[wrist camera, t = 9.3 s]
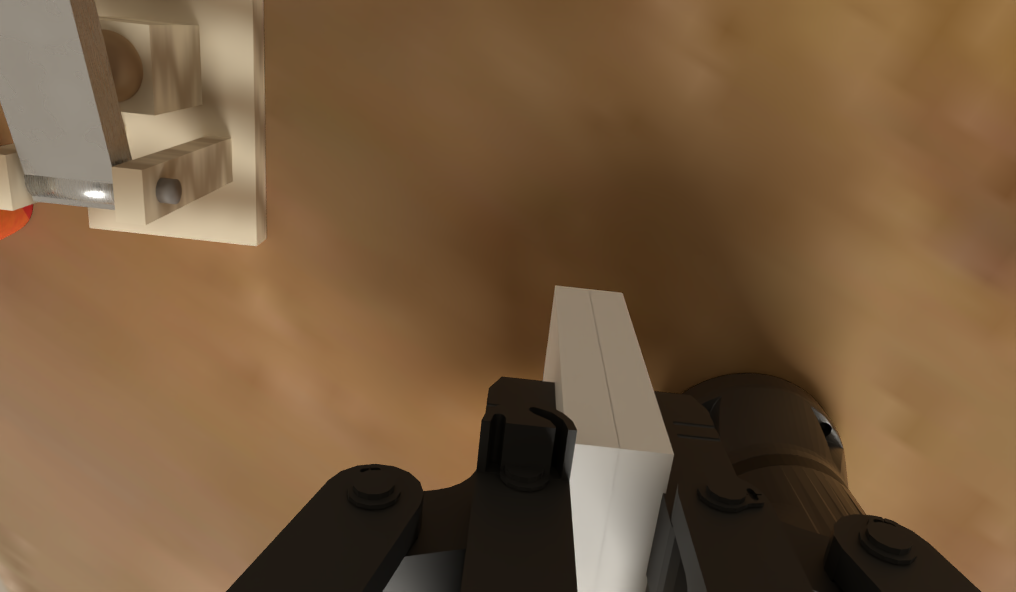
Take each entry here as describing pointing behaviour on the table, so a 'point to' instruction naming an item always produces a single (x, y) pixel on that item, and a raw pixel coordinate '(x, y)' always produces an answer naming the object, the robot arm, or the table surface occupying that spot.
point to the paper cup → (14, 220)
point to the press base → (181, 121)
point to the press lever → (61, 101)
